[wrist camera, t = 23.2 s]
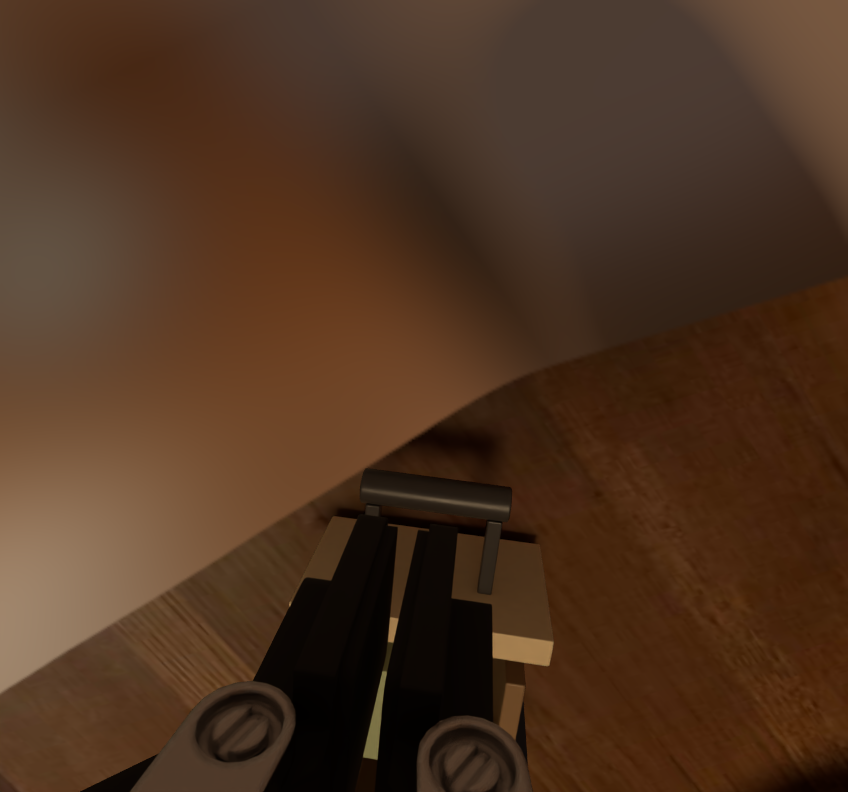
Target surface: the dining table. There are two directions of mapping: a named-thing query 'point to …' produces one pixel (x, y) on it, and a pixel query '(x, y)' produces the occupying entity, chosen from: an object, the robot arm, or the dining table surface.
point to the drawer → (461, 577)
